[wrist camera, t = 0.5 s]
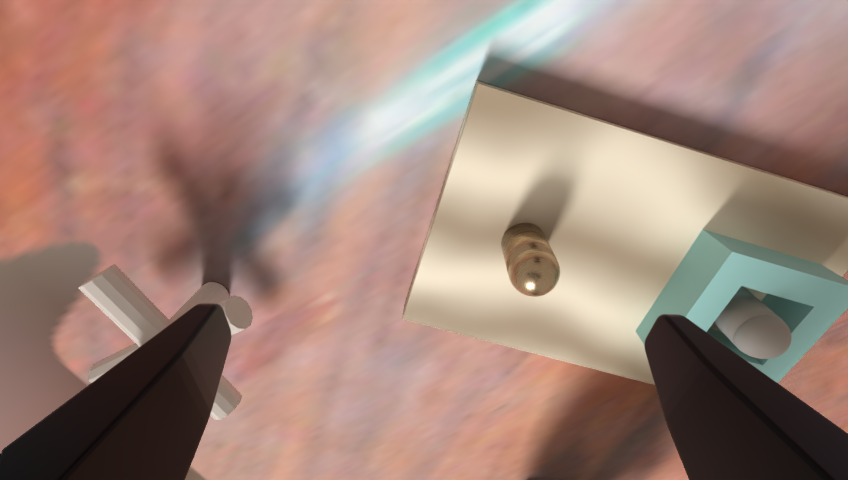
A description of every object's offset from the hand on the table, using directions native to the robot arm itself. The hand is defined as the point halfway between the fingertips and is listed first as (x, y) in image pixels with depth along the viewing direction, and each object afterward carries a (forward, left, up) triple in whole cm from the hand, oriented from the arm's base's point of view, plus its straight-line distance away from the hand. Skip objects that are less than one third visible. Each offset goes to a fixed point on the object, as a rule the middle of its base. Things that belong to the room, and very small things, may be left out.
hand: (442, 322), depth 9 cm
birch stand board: (-3, -12, -15) cm, 19 cm away
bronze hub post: (-3, -6, -13) cm, 15 cm away
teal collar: (-3, -17, -13) cm, 22 cm away
